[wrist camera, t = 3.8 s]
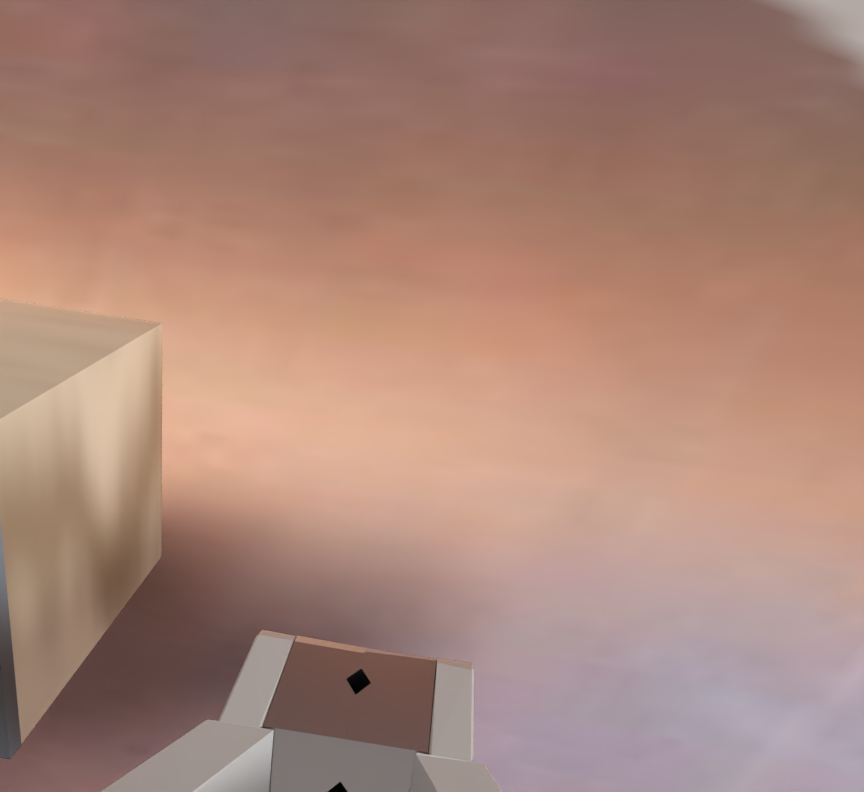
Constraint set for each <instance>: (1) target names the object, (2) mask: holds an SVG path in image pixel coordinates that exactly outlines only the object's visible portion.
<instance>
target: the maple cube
mask: <svg viewBox="0 0 864 792" xmlns="http://www.w3.org/2000/svg"><path fill="white" fill-rule="evenodd" d="M161 531H162V323H158V322H152V321H146V320H139V319H133V318H126V317H120V316H113V315H107V314H100V313H94V312H87V311H81V310H74V309H68V308H61V307H55V306H49V305H42V304H36V303H29V302H23V301H16V300H10V299H3V298H0V758H6V759H11V758H12V756H13V755H14V754H15V752H16V751H17V750H18V748H19V747H20V746H21V744H22V743H23V742H24V740H25V739H26V738H27V736H28V735H29V734H30V732H31V731H32V730H33V728H34V727H35V726H36V724H37V723H38V722H39V720H40V719H41V718H42V716H43V715H44V714H45V712H46V711H47V709H48V708H49V707H50V705H51V704H52V703H53V701H54V700H55V699H56V697H57V696H58V695H59V693H60V692H61V691H62V689H63V688H64V687H65V685H66V684H67V683H68V681H69V680H70V679H71V677H72V676H73V675H74V673H75V672H76V671H77V669H78V668H79V667H80V665H81V664H82V663H83V661H84V660H85V659H86V657H87V656H88V655H89V653H90V652H91V651H92V649H93V648H94V647H95V645H96V644H97V643H98V641H99V640H100V639H101V637H102V636H103V634H104V633H105V632H106V630H107V629H108V628H109V626H110V625H111V624H112V622H113V621H114V620H115V618H116V617H117V616H118V614H119V613H120V612H121V610H122V609H123V608H124V606H125V605H126V604H127V602H128V601H129V600H130V598H131V597H132V596H133V594H134V593H135V592H136V590H137V589H138V588H139V586H140V585H141V584H142V582H143V581H144V580H145V578H146V577H147V576H148V574H149V573H150V572H151V570H152V569H153V568H154V566H155V565H156V563H157V562H158V561H159V559H160V558H161Z"/></svg>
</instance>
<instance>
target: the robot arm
mask: <svg viewBox="0 0 864 792" xmlns="http://www.w3.org/2000/svg"><path fill="white" fill-rule="evenodd" d="M473 712H474V668H473V665H472V663H469V662H462V661H455V660H447V659H440V658H437V659H435V658H430V657H423V656H416V655H410V654H403V653H397V652H390V651H383V650H377V649H370V648H363V647H358V646H352V645H347V644H342V643H336V642H331V641H325V640H320V639H314V638H309V637H304V636H294V635H288V634H283V633H278V632H272V631H267V630H261V632H260V633H259V634H258V635H257V636H256V637H255V639H254V642H253V644H252V646H251V648H250V651H249V653H248V655H247V657H246V659H245V662H244V664H243V666H242V668H241V671H240V673H239V675H238V677H237V680H236V682H235V684H234V686H233V688H232V691H231V693H230V695H229V697H228V700H227V702H226V704H225V706H224V708H223V711H222V713H221V715H220V717H219V720H218V721H215V720H208V719H206V720H205V721H204V722H202V723H201V724H199V725H198V726H196V727H195V728H193V729H192V730H190V731H189V732H187V733H186V734H184V735H183V736H181V737H180V738H179V739H177V740H176V741H174V742H173V743H171V744H170V745H168V746H167V747H165V748H164V749H162V750H161V751H159V752H158V753H157V754H155V755H154V756H152V757H151V758H149V759H148V760H146V761H145V762H143V763H142V764H140V765H139V766H137V767H136V768H134V769H133V770H132V771H130V772H129V773H127V774H126V775H124V776H123V777H121V778H120V779H118V780H117V781H115V782H114V783H112V784H111V785H109V786H108V787H107V788H105V789H104V790H102V791H101V792H503V791H502V790H501V788H500V787H499V785H498V784H497V782H496V781H495V779H494V778H493V776H492V775H491V773H490V772H489V770H488V769H487V767H486V766H485V764H482V763H477V762H473Z"/></svg>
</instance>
